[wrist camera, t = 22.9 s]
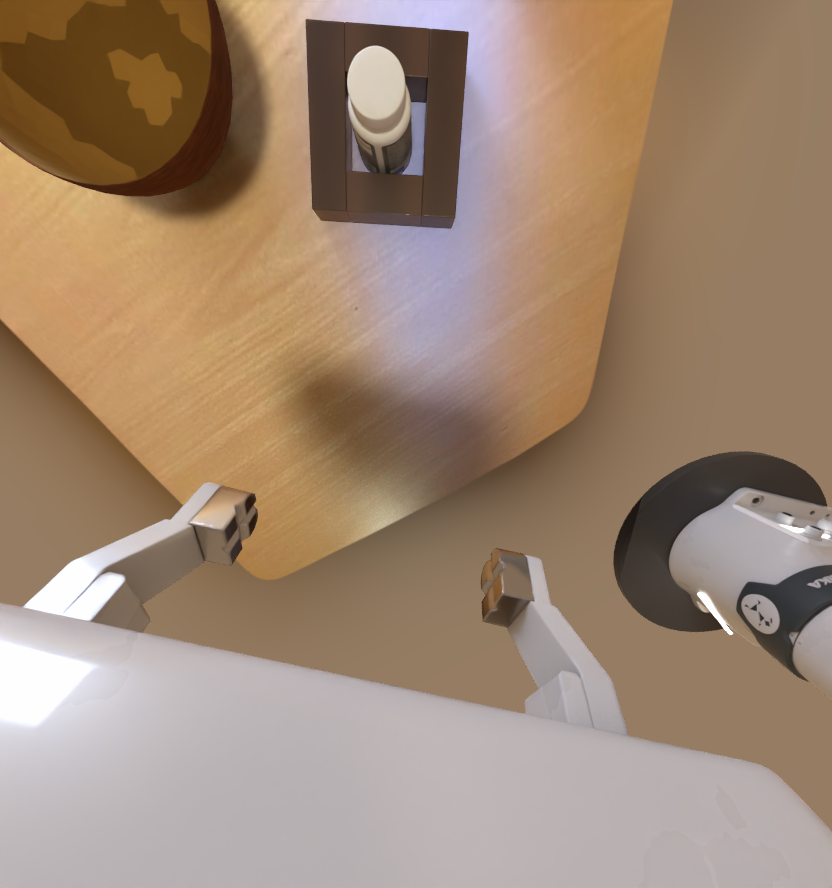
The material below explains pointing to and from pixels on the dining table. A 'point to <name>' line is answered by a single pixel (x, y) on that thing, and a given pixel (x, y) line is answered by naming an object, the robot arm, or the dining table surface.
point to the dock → (333, 182)
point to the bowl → (115, 90)
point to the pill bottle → (380, 110)
